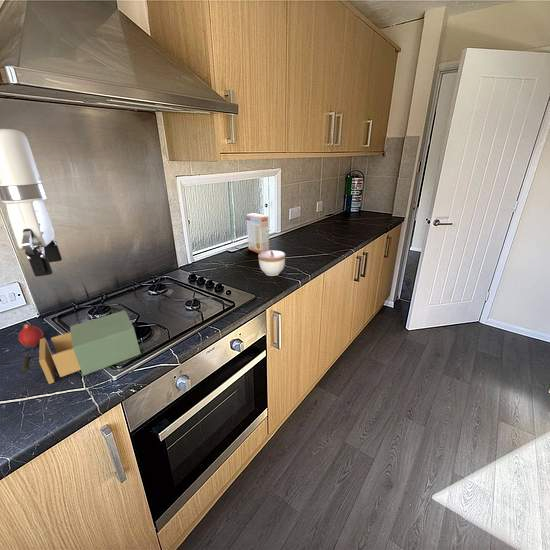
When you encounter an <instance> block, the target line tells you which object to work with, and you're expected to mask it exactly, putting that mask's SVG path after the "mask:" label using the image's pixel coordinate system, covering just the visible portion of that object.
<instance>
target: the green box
mask: <svg viewBox="0 0 550 550" xmlns="http://www.w3.org/2000/svg"><path fill="white" fill-rule="evenodd" d="M69 329H70V331H69V332H71V338H72V346H73V350H74V353H75V355H76V358H77V361H78V363H79V366H80V369H81V370H80V372H81V374H82V376H83V377H84V376H86V375H89V374H92V373H94V372H97V371H101V370H103V369H105V368H107V367H108V368H109V367H111V366H113V365H116V364H118V363H122V362H124V361H126V360H129V359H131V358H134V357H137V356H140V355H141V354H142V353H141V350H140V349H141V348H140V345H139V341H138V338H137V334H136V329H135V327H134V325H133V323H132V321H131V319H130V317H129V315H128V312H127V311H126V310H121V311H117V312H114V313H110V314H107V315H104V316H100V317H97V318H94V319H91V320H87V321H84V322H80V323H77V324H73V325H70V326H69Z"/></svg>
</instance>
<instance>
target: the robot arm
mask: <svg viewBox="0 0 550 550" xmlns="http://www.w3.org/2000/svg"><path fill="white" fill-rule="evenodd" d="M27 137H28V136H26V134H25V133H24V132H23V131H21V130H18V129H12V128H0V199H1V202H2V203H3V204H5V205H6V211H7V216H8V219H9V223H10V227H11V229H12V233H13V235H14V238H15V241H16V244H17V247H18V249H20V250H22V251H23V250H24V254H25V255H26V258H27V260H28V262H29V264H30V267H31V270H32V272H33V275H34V277H44V276H50V275H52V274H53V269H52V266H51V264H50V263H55V262H61V261H62V260H63V258H62V255H61V252H60V248H59V246H58V245H57V244H58V243H57V240H56V239H55V237H56V234H55V233H56V232H55V229H54V226H53V223H52V220H51V217H50V216H49V212H48V210H47V207H46V205H45V202H44V200H46V199H48V198H47V195H46V191H45V189H44V186H43V185H44V184H43V183H42V179H41V176H40V173H39V170H38V167H37V164H36V161H35V157H34V155H33V152H32V148H31V146H30V142H29V139H28V138H27Z"/></svg>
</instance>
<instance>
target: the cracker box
mask: <svg viewBox="0 0 550 550" xmlns="http://www.w3.org/2000/svg"><path fill="white" fill-rule="evenodd" d="M245 215H246V217H245V218H246V234H247V248H248V249H247V250H249V251H252V252H254V253H256V254H258V255H259V254H260V253H261V252H264V251H270V230H269V216H267V215H263V214H259V213H255V212H251V213H247V214H245Z"/></svg>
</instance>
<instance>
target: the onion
mask: <svg viewBox="0 0 550 550" xmlns="http://www.w3.org/2000/svg"><path fill="white" fill-rule="evenodd" d="M43 338H44V332H43V330H42V329H41V328H39V327H38V326H36V325H30V324H24V325H23V326H22V329H21V330H20V331H19V333H18V342H19V344H21V345H23V346H25V347H31V348H36V347H37V346H38V345H40V339H43Z"/></svg>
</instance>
